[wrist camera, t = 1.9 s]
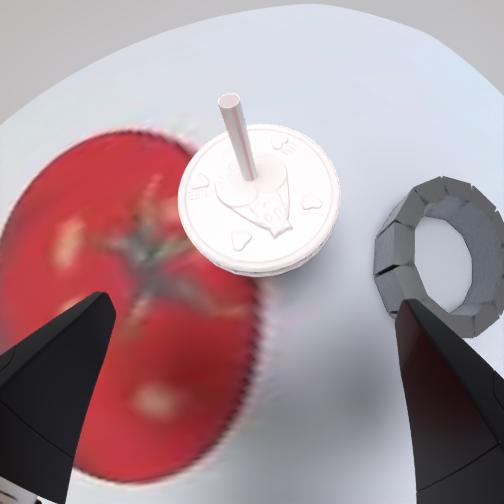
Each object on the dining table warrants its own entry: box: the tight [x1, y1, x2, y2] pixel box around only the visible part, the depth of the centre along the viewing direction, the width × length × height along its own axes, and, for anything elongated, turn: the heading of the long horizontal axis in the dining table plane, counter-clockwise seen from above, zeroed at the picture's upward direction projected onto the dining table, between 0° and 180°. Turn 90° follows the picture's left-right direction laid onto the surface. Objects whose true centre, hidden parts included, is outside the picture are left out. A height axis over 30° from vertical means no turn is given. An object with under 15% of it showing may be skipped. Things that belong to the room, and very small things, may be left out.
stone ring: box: [373, 176, 504, 338], centre depth 16 cm, size 10×10×4 cm
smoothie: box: [178, 93, 340, 277], centre depth 13 cm, size 6×6×14 cm
